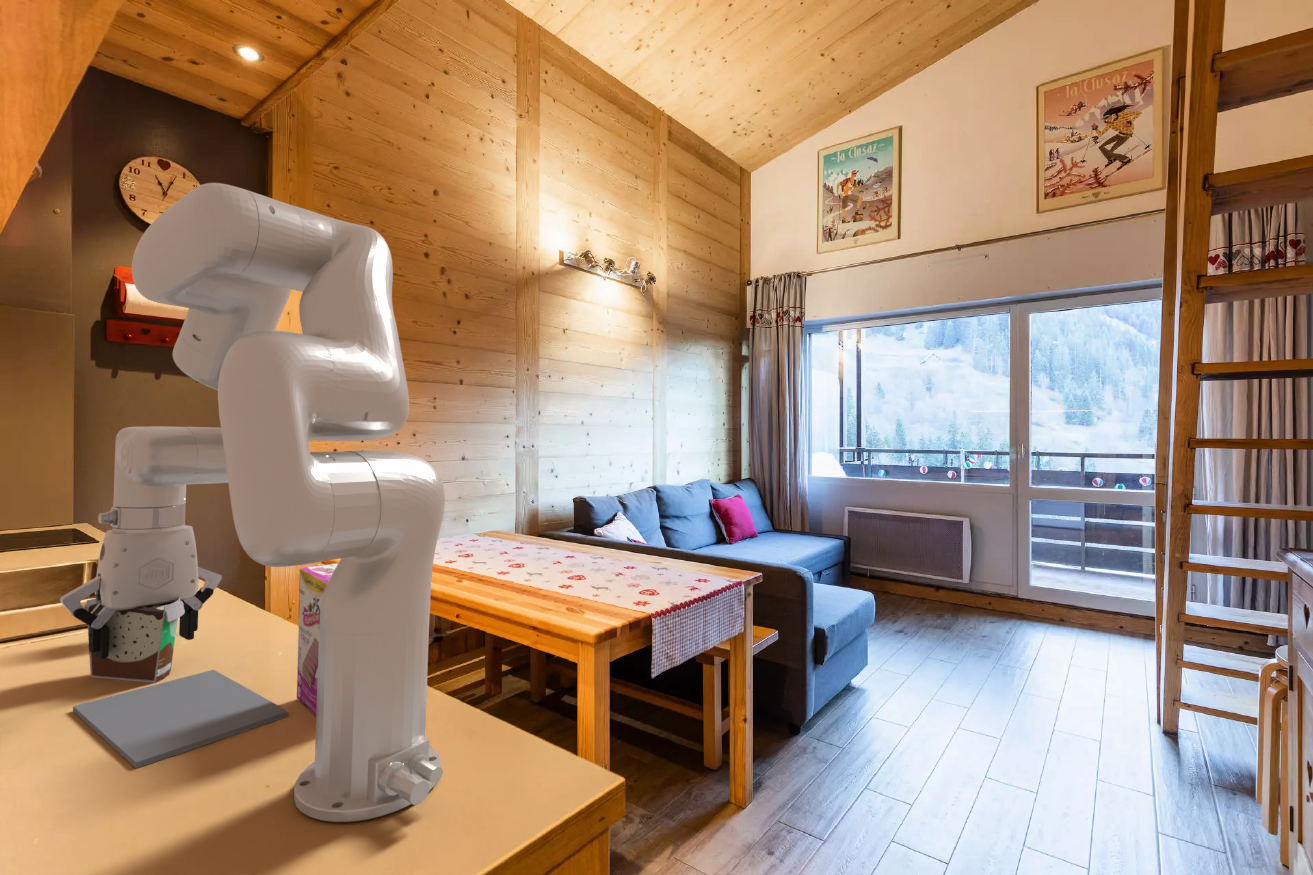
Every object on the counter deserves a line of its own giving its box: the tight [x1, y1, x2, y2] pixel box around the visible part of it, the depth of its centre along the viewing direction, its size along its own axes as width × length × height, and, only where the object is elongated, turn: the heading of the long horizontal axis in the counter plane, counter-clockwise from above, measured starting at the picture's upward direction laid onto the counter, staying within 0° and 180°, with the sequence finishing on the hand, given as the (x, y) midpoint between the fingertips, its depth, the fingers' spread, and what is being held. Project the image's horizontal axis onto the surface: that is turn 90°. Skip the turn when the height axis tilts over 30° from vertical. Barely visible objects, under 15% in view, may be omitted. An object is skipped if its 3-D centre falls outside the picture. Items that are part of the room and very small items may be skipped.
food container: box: [83, 597, 185, 684], centre depth 82 cm, size 12×6×10 cm, turn 84°
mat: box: [72, 669, 289, 769], centre depth 71 cm, size 20×14×1 cm
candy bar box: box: [296, 563, 338, 717], centre depth 73 cm, size 11×5×16 cm, turn 47°
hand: (145, 646), depth 82 cm, fingers open, 8 cm apart
